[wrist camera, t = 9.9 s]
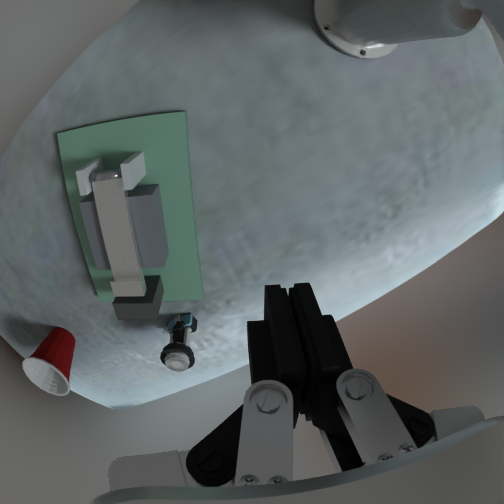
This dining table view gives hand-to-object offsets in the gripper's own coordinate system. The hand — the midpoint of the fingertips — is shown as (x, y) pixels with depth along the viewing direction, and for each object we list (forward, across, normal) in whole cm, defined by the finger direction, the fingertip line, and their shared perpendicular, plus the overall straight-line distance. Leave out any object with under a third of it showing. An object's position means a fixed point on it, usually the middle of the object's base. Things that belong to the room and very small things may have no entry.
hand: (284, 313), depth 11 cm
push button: (+29, +12, +28) cm, 42 cm away
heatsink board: (+29, +16, +8) cm, 34 cm away
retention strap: (+23, +16, +8) cm, 29 cm away
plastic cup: (+29, +39, +33) cm, 59 cm away
